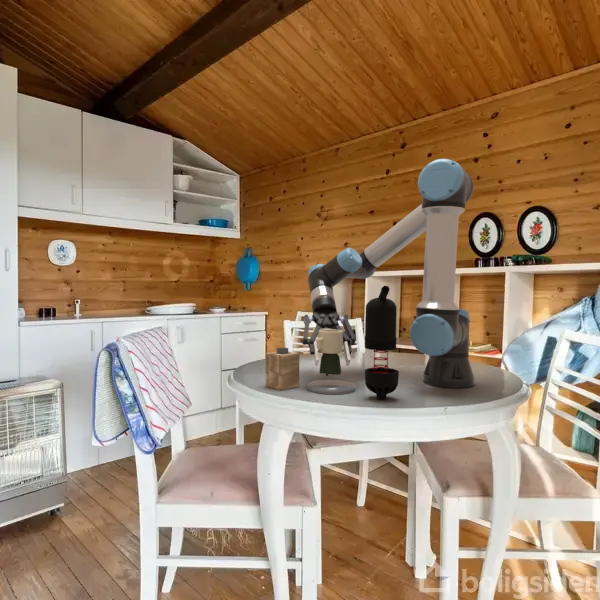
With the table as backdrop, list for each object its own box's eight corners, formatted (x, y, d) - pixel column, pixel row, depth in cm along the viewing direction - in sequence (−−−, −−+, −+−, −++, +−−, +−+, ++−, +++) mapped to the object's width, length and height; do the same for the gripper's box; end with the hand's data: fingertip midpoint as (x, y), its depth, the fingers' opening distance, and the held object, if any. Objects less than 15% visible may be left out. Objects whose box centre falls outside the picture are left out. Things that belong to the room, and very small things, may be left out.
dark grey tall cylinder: (290, 382, 131) (290, 348, 131) (282, 383, 129) (282, 349, 129) (282, 380, 134) (282, 347, 133) (274, 382, 131) (274, 348, 131)
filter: (404, 404, 112) (405, 285, 112) (368, 404, 112) (369, 285, 111) (390, 391, 126) (391, 286, 125) (358, 391, 125) (359, 285, 125)
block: (299, 386, 131) (299, 353, 131) (282, 390, 126) (282, 355, 126) (282, 383, 136) (282, 350, 136) (265, 386, 131) (265, 353, 131)
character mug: (333, 370, 135) (333, 328, 135) (351, 374, 130) (352, 330, 130) (308, 375, 128) (308, 330, 127) (326, 379, 123) (327, 332, 122)
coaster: (364, 388, 129) (365, 384, 129) (335, 397, 119) (335, 392, 119) (327, 381, 139) (327, 377, 139) (297, 388, 129) (297, 384, 129)
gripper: (353, 311, 145) (366, 369, 130) (289, 311, 142) (294, 370, 127) (358, 296, 140) (372, 354, 124) (291, 295, 137) (296, 355, 122)
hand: (332, 362), depth 126 cm, fingers closed on character mug, 8 cm apart
